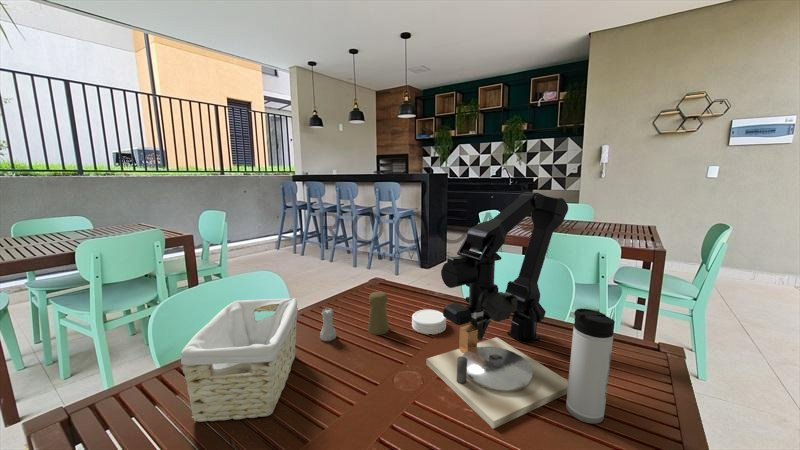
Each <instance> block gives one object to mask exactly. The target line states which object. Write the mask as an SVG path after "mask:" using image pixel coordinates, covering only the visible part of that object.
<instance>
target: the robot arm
mask: <svg viewBox="0 0 800 450" xmlns="http://www.w3.org/2000/svg"><path fill="white" fill-rule="evenodd" d="M568 212H569V205H568V203H567V202H566V200H565V199H564V197H563V198H562V197H554V196H553V197H552V196H547V195H544V194H542V193H540V192H535V191H534V192H532V191H531V192H530V191H524V192H521V193H520V194H519V196H518V198H516V199H515V200H514V201H513V202H512V203H510V204H509V205H507V206H506V207H505V208H504V209H503V210H502V211H500V212H499V213H497V215H496V216H494V217H492V218H491V219H489V220H486V221H483V222H479V223H477V224H476V225H474V226H472V227H470V228H469V229H468V231H467V233H466V236H465V238H464V240H463V241H462V243H461V245H460V247H459V248H458V250H457V252H456V254H457V256H448V257H447V262H445V263H444V264H443V265H442V268H441V270H440V274H441V275H440V276H441V279H442V282H443V284H444V285H445V286H446V287H447V288H449V289H454V288H457V287H461V286H466V287H469V291H468V292H469V293H468V296H466V297H465V302H466V303H468V305H466V306H464V305H462V304H461V303H460V302H454V303H450V304H445V306H444V307H443V311H442V313H443V316H444V317H445V318H446V320H449V322H451V323H452V324H454V325H456V326H463V325H465V324H466V325H467V324H469V323H470V325H471V326H472V327H474V328H476V329H478V334H477V340H479V341H483V337H484V336H485V333H486V331H487V328H488V327H489V325H490V322H491V321H493V322H495V323H500V322H501V321H505V320H509V319H510V317H511V322H510V323H511V324H510V330H507V332H506V334H507V335H509V336H510V337H512V338H513V339H516V340H517V341H519V342H521V343H522V344H525V345H526V344H528V343H531V342H535V341H537V340H539V339H541V338H542V337H541V335H539V334H538V333H537V326H538V323H542V320H545V316H546V310H545V308H544V307H543V306H542V304H541V303H540V299H541V293H540V288H539V284H538V282H539V279H540V275H541V272H542V268H543V266H544V262H545V259H546V256H547V252H548V250H549V246H550V244H551V239H552V238H553V237H552V236H553V233H554V231H556V230H557V229H558V228H559V227H560V226H561V225H562V224H563V223H564V221H565V218H566V217H567V214H568ZM528 216H530V218H531V222H532V224H533V225H532V226H533V227H532V231H531V233H530V234H531V235H530V237H529V240H528V245H527V247H526V251H525V253H524V257H523V261H522V264H521V267H520V270H519V274H518V276H517V278H515V279H514V280H513V281H511V280H509V281H508V282H507V284H506V289H505V291H503V292H502V291H499V287H498V284H495V267H496V264H495V263H496V262H497V261H501V260H502V256H501V255H499V253H498V251H499V250H500V249H501V247H502V246H503V245H504V244H505V243H506V238H507V237H506V236H507V235H508V234H509V233H510V231H512V230H513V229H514V228H515V227H517V226H518V225H519V224H520V223H521V222H523V221H524V219H526V218H527V217H528ZM511 315H512V316H511Z"/></svg>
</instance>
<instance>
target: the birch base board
mask: <svg viewBox="0 0 800 450" xmlns="http://www.w3.org/2000/svg"><path fill="white" fill-rule="evenodd" d="M486 346H487V347H498V348H503V349H506V350H509V351H512V352H514V353H516V354H518V355H520V356H521V357H523V358H524V359H525V360H526V361H527V362H528V363H529V364H530V366H531V367H532V371H533V374H532V381H531V383H530V384H529V385H528V386H527V387H526V388H524V389H522V390H519V391H514V392H499V391H493V390H489V389H486V388H483V387H481V386H479V385H477V384H475V383H473V382H472V381H470V380H469V379H468V378H467V358H465V357H462V356H463V355H464V352H462V351H461V350H459V348H457V349H453V350H450V351H447V352H444V353H440V354H437V355H434V356H431V357H427V358H426V366H427V367H428V368H430V370H431V371H432V372H434V373H435V374H436V376H438V377H439V378H440V379H441V380H442V381H443V382H444V384H446V385H447V386H448V387H449V388H450V389H451V390H452V391H453V392H454V393H455V394H457V396H458V397H460V398H461V399H462V401H463V402H464V403H466V404H467V405H468V406H469V407H470V408H471V409H472V410H473V411H474V412H475V413H476V414H477V415H478V416H479V417H480V418H481V419H482V420H483V421H484V422H486V423H487V424H488V425H489V426H490V428H491V429H492V430H494V429H496V428H498V427H500V426H502V425H505V424H506V423H508V422H510V421H513V420H515V419H517V418H519V417H521V416H523V415H526V414H527V413H531V411H532V412H533V410H536V409H538V408H540V407H542V406H544V405H546V404H549V403H551V402H552V401H554V400H557V399H559V398H561V397H563V396H565V395H566V396H567V390H568V380H569V379H568V380H567V379H566V378H564V377H562V376H561V375H559V374H557V372H555V371H552V369H550V368H548V367H546V366H544V365H543V364H541V363H540V362H538V361H537V360H535V359H533V358H532V357H530V356H528V355H526V354H525V353H523V352H522V351H520V350H519V349H517V348H515V347H514V346H512V345H510V344H508V343H507V342H505V341H504V340H502V339H501V338H499V337H497V336H496V337H494V338H493V337H492V338H489V339H486V340H482V341H479V342H477V347H486Z"/></svg>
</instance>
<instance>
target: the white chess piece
mask: <svg viewBox="0 0 800 450" xmlns="http://www.w3.org/2000/svg"><path fill="white" fill-rule="evenodd" d="M334 314H335V313H334V311H333V308H331V307H330V308H329V307H328V308H327V307H326V308H323V309H322V312H321V316H322V322H323V323H322V328H321V331H320V332H319V335H320V336H319V339H320V340H321V341H323V342H331V341H334V340H335V339H336V338H337V331H336V329H335V327H334V324H333V320H334V317H333V315H334Z"/></svg>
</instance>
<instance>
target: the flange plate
mask: <svg viewBox="0 0 800 450" xmlns="http://www.w3.org/2000/svg"><path fill="white" fill-rule="evenodd" d="M477 334H478V329H476V328H474V327H472V325H471V324H466V325H464V326H463V325H462V326H460V327H459V337H458V338H459V340H458V349H459V350H461V351H462V352H464V355H463V356H462V357H465V358H467V378H468V379H469V380H470V381H472V382H473V383H475V384H477V385H479V386H481V387H483V388H486V389H489V390H493V391H499V392H514V391H519V390H522V389H524V388H526V387H527V386H528V385H529V384H530V383H531V381H532V374H533V371H532V367H531V366H530V364H529V363H528V362H527V361H526V360H525V359H524V358H523V357H521V356H520V355H518V354H516V353H514V352H512V351H509V350H506V349H503V348H498V347H487V346H486V347H477V343H478V338H477Z"/></svg>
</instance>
